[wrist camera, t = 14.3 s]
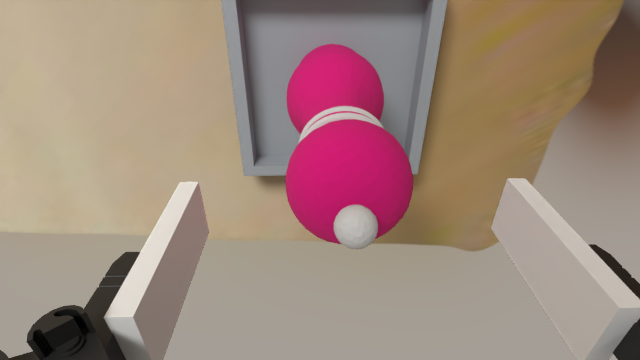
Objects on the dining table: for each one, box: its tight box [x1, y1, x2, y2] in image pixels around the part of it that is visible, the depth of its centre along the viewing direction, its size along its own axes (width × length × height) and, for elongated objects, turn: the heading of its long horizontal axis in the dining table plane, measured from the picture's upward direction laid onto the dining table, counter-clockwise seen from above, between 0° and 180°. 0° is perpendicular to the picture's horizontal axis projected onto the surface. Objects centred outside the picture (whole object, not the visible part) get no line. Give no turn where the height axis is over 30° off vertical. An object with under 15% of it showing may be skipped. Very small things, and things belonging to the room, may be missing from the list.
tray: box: [221, 0, 447, 176], centre depth 30 cm, size 16×16×3 cm
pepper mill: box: [285, 44, 413, 249], centre depth 22 cm, size 7×7×20 cm
